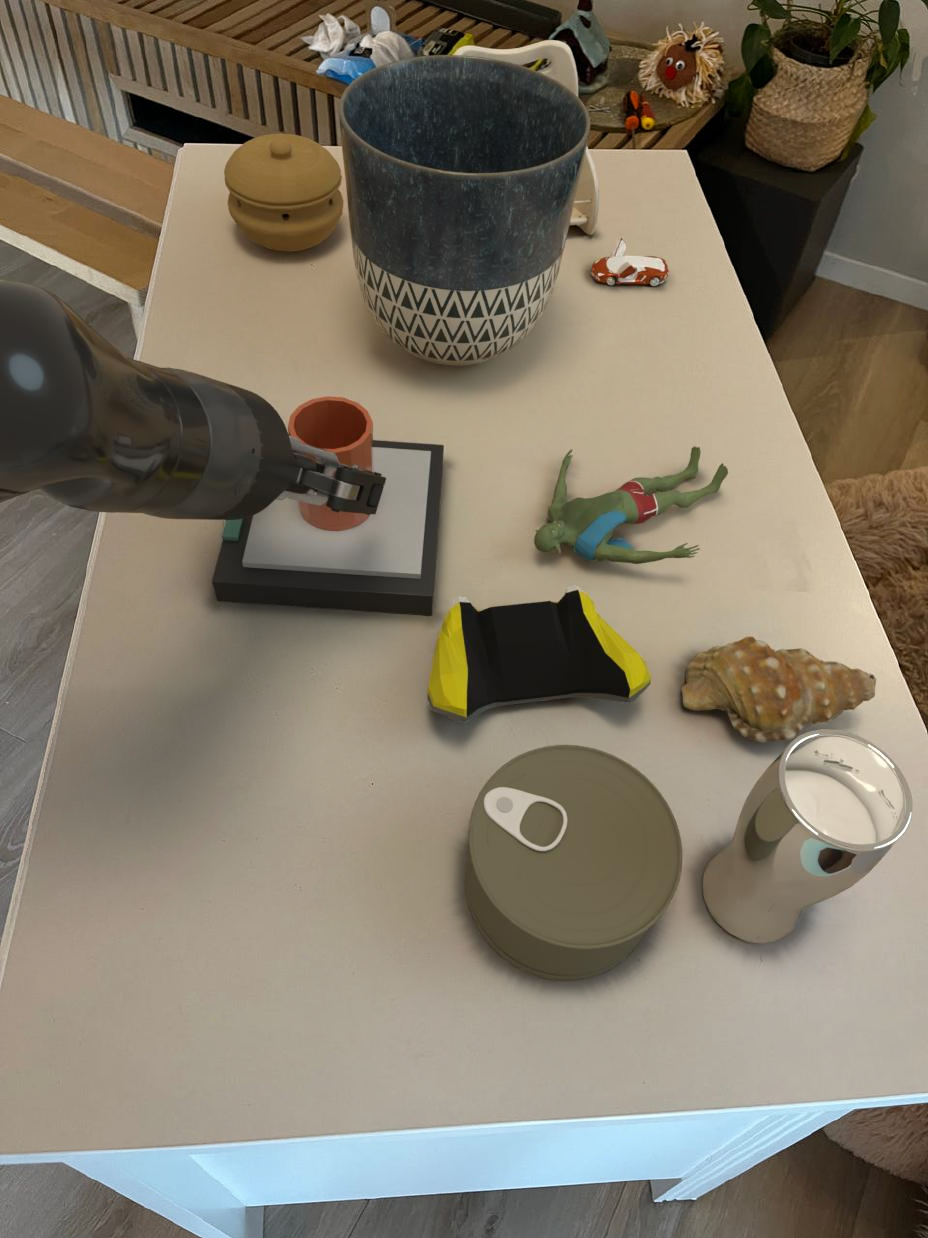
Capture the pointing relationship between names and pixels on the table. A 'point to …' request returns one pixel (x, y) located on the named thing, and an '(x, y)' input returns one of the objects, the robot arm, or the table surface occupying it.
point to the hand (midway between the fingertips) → (310, 467)
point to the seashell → (772, 688)
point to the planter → (459, 199)
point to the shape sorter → (566, 74)
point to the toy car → (629, 268)
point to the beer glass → (806, 833)
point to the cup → (334, 448)
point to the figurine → (618, 515)
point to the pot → (284, 191)
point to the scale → (343, 546)
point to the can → (569, 861)
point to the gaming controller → (530, 657)
